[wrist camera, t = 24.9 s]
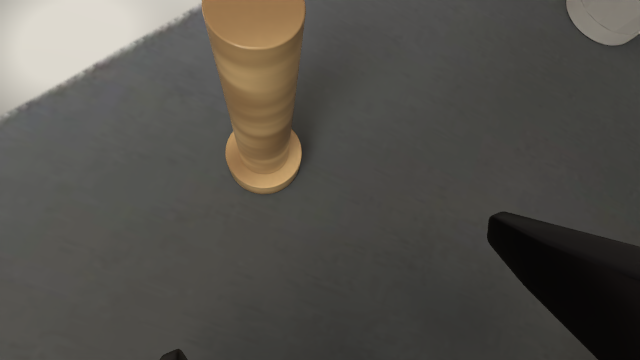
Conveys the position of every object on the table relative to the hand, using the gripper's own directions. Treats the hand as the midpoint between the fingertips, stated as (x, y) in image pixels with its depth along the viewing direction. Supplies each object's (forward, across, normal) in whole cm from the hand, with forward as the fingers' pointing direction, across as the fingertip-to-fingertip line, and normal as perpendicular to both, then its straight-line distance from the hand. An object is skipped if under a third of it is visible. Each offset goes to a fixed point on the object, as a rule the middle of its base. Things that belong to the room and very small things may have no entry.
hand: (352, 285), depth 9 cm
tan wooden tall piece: (+14, 0, +2) cm, 14 cm away
